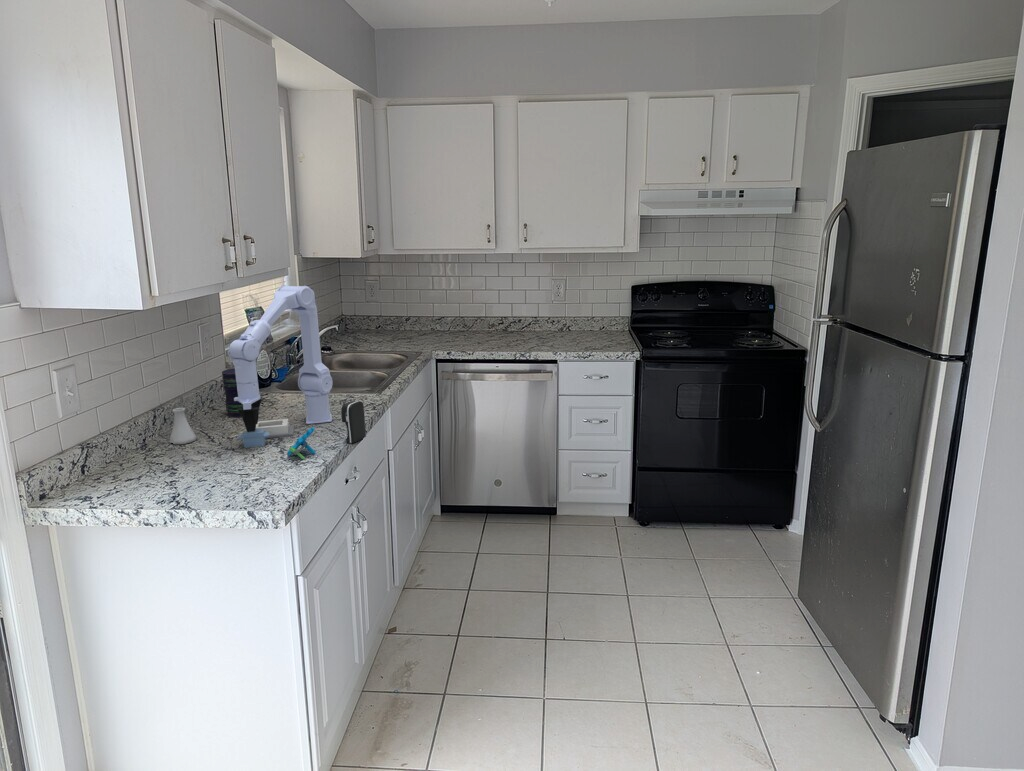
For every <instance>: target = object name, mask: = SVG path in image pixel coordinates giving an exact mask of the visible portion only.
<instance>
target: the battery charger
mask: <svg viewBox="0 0 1024 771" xmlns="http://www.w3.org/2000/svg"><path fill="white" fill-rule="evenodd" d="M340 413H341V422H342V423H344V424H345V426H346V430H347V431H346V432H347V433H346V434H347V437H346V439H345V442H346V443H349V444H354V443H357V442H360V441H361V440H363V439H364V438H366V437H367V434H366V420H365V408H364V403H363V402H362V401H361V400H352V401H349V402H346V403H345V404H343V405H342V406H341V409H340Z"/></svg>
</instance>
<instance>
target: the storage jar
mask: <svg viewBox="0 0 1024 771" xmlns="http://www.w3.org/2000/svg"><path fill="white" fill-rule="evenodd" d="M221 376H222V385H223V389H224V392H225V400H224V401H225V408H226V412H227V415H226V416H227V418H231V419H233V418H234V419H239V418H240V419H242V417H241V415H240V414H239V413H238V410H237V409H238V408H243V405H242V404H241V403H240V402H239V401H234V398H235V397H238V391H237V383H236V375H235V367H234V368H229V369H224V370H222V371H221Z"/></svg>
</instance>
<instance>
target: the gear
mask: <svg viewBox="0 0 1024 771" xmlns="http://www.w3.org/2000/svg"><path fill="white" fill-rule="evenodd" d="M315 429H316V428H315V427H314V426H312V427H310V428H309V429H308V430H307V431H306V433H303V434H302V435H301V437H298V438H297V439H296V441H295V444H294V445H292V446H291V447H290V448H289V449H288V451H287V452H286V455H287V456H288V457H290V456H291V455H292V454H293V455H295V456H298V457H300V459H302V460H303V459H304V460H305V459H306V456H304V455H303V454H302V453H301V451H302V450H303V449H304V448H305V450H307V451H309V452H310V453H311V454H312V455H314V454H316V451H315V450H314V449H313V447H311V446H310V445H309V443H308V442H307V441H306V440H307V439H308V438H310V436H311V435H312V434H313V433H314V432H315Z"/></svg>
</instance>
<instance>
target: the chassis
mask: <svg viewBox="0 0 1024 771" xmlns="http://www.w3.org/2000/svg"><path fill="white" fill-rule="evenodd" d="M260 429H264V432H269V437H265V440H266V439H275V438H284V437H294V434H293V433H294V432H295V424H291V425H290V423H289V418H282V419H279V418H278V419H270V420H258V424H256V430H260Z"/></svg>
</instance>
